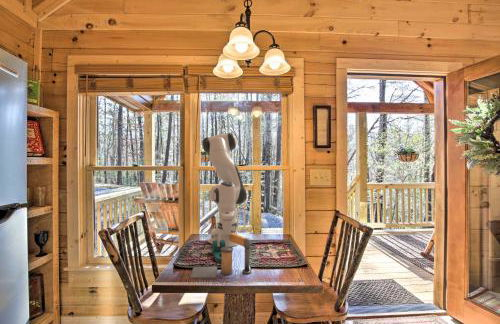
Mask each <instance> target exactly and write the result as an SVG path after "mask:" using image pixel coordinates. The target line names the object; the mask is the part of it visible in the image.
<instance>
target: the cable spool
mask: <svg viewBox="0 0 500 324" xmlns="http://www.w3.org/2000/svg"><path fill="white" fill-rule="evenodd" d="M221 251H222V257H221V258H222V261H221V265H220V266H221V270H220V275H222V276H231V275H233V273H234V271H233V251H234V248H233V246H232V247H222V248H221ZM230 274H231V275H230Z"/></svg>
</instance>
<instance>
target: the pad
mask: <svg viewBox="0 0 500 324" xmlns="http://www.w3.org/2000/svg"><path fill="white" fill-rule="evenodd" d="M217 273H218V266H195V267H193V268H192V271H191V274H190V277H189V279H192V280H193V279H195V280H196V279H216V278H217Z"/></svg>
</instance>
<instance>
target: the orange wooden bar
mask: <svg viewBox="0 0 500 324" xmlns="http://www.w3.org/2000/svg"><path fill="white" fill-rule="evenodd" d="M229 241H231V242H234V243H236V244H238V246H242V248H244V249H245V248H251V238H250V237H244V236H242V235H239V234H237V235H236V234H234V233H231V234H230V235H229Z"/></svg>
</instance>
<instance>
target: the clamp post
mask: <svg viewBox="0 0 500 324" xmlns="http://www.w3.org/2000/svg"><path fill="white" fill-rule="evenodd" d="M250 248H251V247H250ZM250 248H244V269H242V271H241V272H242V274H243V275H250V274H252V269H250Z"/></svg>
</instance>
